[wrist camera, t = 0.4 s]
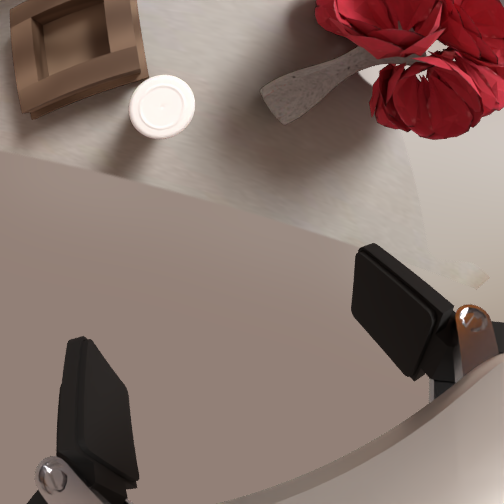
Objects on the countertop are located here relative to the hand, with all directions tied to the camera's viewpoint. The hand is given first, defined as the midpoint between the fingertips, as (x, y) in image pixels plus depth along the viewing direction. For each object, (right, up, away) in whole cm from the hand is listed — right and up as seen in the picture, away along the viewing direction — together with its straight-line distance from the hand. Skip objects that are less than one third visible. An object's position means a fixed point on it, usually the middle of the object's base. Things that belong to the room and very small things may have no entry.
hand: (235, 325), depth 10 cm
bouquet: (+12, +29, +21) cm, 38 cm away
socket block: (-18, +25, +12) cm, 33 cm away
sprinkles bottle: (-10, +18, +19) cm, 28 cm away
